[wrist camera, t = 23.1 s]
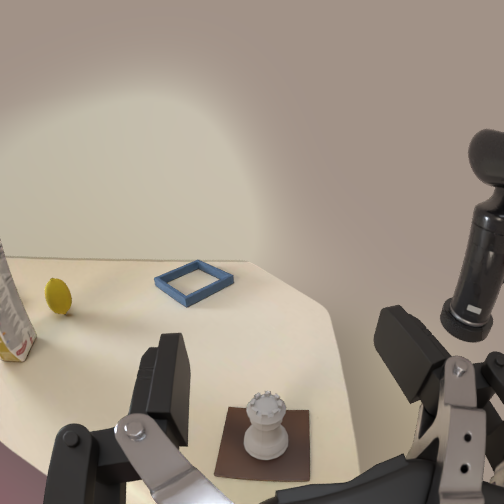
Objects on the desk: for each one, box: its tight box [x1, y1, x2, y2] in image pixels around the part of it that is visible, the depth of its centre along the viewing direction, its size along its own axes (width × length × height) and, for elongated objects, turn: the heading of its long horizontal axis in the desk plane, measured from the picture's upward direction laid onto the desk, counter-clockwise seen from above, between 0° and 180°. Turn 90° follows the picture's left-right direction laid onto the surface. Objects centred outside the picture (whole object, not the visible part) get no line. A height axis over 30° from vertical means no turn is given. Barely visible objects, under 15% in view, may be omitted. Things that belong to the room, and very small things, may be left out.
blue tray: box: [154, 260, 234, 308], centre depth 54 cm, size 12×12×2 cm
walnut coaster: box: [214, 407, 310, 482], centre depth 23 cm, size 9×9×1 cm
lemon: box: [45, 278, 72, 315], centre depth 42 cm, size 6×6×8 cm
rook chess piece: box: [244, 391, 288, 460], centre depth 21 cm, size 4×4×8 cm
